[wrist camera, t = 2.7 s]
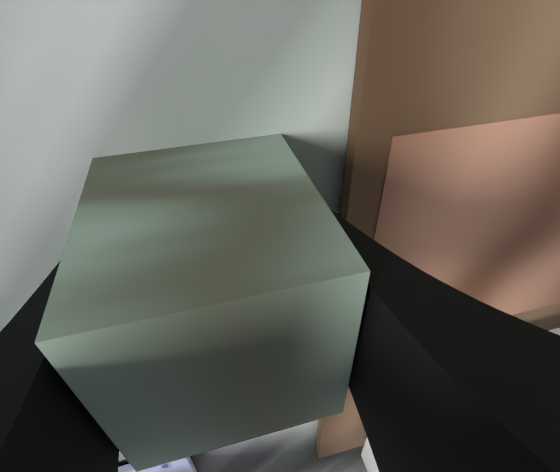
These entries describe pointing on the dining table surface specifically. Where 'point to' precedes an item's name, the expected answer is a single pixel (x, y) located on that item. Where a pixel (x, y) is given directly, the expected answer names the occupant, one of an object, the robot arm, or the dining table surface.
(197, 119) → the dining table surface
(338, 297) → the block
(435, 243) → the board
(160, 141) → the dining table surface
